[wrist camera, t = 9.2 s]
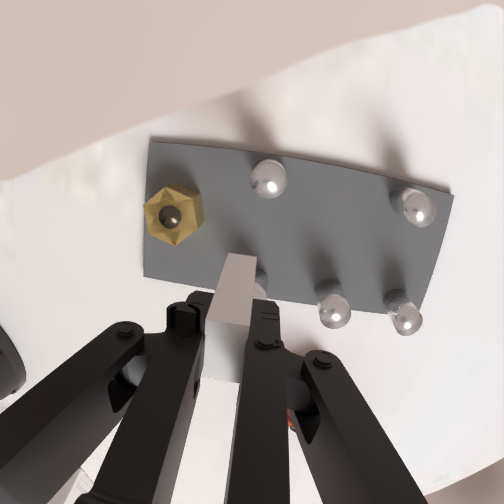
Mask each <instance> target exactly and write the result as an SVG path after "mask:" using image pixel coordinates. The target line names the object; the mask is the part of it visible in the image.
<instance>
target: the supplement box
mask: <svg viewBox="0 0 504 504" xmlns="http://www.w3.org/2000/svg"><path fill="white" fill-rule="evenodd" d="M93 484H94V483H93V482H92V481H91V479H90V478H89V477H88V476H87V475H86V473H85V472H84V471H83V470H82V469H81V468H78V470H77V471H76V472H75V473H74V474H73V475H72V476H71V477H70V479H69V480H68V481H67V482H66V483H65V484H64V485H63V487H62V488H61V489H60V490H59V491H58V492H57V493H56V494H55V496H54V497H53V498H52V499H51V500H50V501H49V502H48V503H47V504H74V502H75V501H76V499H77V498H78V497H79V496H80V495H81V494H84V493H88V492H89V491H90V490H91V488H92V486H93Z"/></svg>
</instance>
